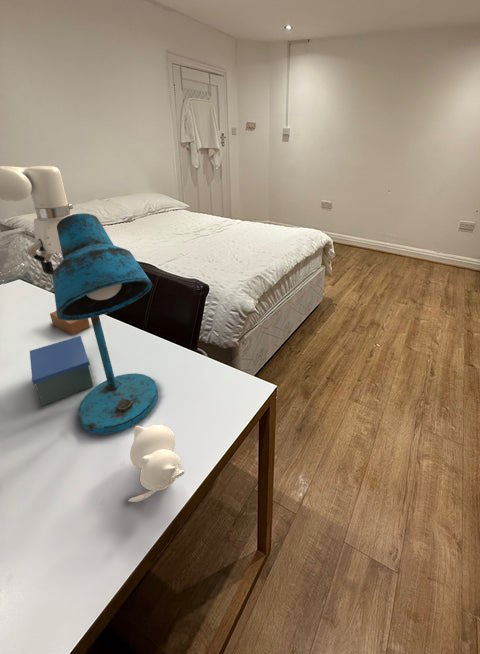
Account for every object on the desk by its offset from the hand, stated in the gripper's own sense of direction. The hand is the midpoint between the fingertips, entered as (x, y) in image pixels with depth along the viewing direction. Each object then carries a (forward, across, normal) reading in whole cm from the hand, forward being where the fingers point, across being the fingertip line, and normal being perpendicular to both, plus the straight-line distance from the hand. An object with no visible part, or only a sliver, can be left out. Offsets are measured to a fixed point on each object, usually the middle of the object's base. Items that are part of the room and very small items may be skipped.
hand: (67, 267), depth 96 cm
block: (+20, +2, -1) cm, 20 cm away
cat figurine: (+20, +26, +58) cm, 67 cm away
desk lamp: (+20, +18, +41) cm, 49 cm away
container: (+19, +18, +21) cm, 34 cm away
